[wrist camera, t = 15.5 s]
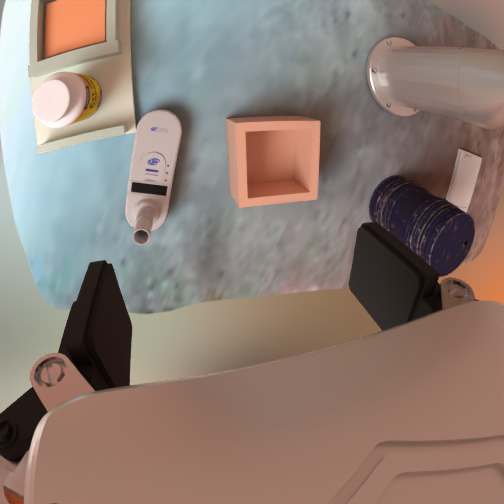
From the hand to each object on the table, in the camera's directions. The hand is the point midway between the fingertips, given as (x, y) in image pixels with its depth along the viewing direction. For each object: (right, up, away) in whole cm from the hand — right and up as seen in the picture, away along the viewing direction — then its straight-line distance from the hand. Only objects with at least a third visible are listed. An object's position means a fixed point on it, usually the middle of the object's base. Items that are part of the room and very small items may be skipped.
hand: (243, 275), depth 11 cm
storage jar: (+23, +9, +36) cm, 44 cm away
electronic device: (-12, +11, +24) cm, 29 cm away
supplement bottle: (-19, +19, +17) cm, 32 cm away
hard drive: (+42, +15, +38) cm, 58 cm away
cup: (+2, +13, +26) cm, 30 cm away
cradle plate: (-20, +27, +11) cm, 35 cm away
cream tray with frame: (-20, +23, +14) cm, 34 cm away
